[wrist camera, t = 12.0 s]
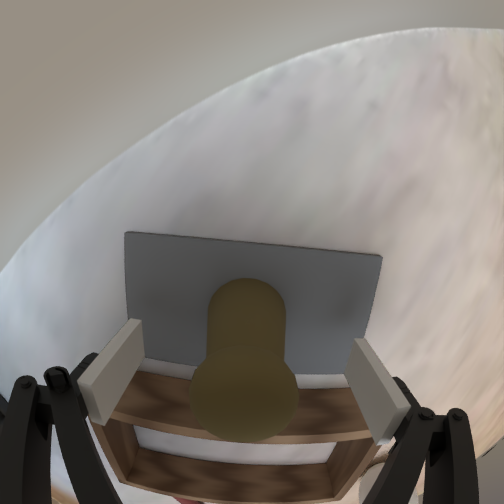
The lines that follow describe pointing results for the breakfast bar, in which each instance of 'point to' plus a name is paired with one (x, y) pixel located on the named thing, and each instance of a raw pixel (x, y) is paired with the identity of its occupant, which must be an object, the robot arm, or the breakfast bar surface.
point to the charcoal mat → (256, 267)
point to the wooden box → (238, 475)
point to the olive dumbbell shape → (244, 365)
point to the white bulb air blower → (370, 479)
